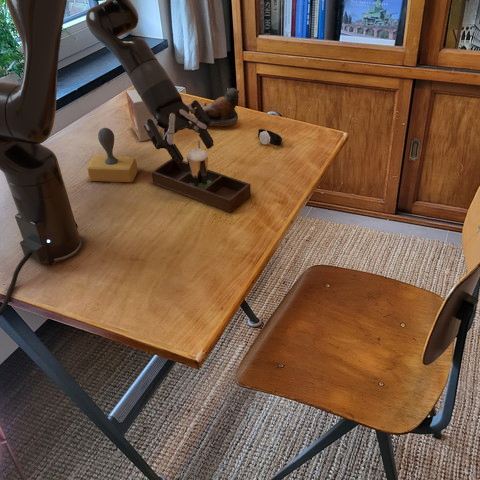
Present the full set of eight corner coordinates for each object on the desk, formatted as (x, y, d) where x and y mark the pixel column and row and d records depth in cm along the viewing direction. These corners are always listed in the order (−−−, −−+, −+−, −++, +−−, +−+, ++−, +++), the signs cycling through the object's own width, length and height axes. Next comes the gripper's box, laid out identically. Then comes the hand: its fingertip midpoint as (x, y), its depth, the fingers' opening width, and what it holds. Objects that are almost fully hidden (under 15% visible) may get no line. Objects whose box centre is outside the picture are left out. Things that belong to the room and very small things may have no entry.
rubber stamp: (138, 170, 137) (129, 123, 129) (132, 183, 133) (122, 135, 125) (97, 168, 138) (85, 121, 130) (89, 181, 134) (77, 134, 126)
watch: (253, 139, 149) (252, 126, 146) (267, 133, 151) (267, 120, 149) (272, 150, 144) (272, 137, 142) (286, 144, 147) (287, 131, 144)
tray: (230, 213, 124) (229, 200, 122) (153, 184, 133) (151, 171, 131) (250, 196, 129) (250, 184, 127) (174, 169, 138) (173, 157, 136)
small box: (132, 128, 153) (125, 90, 146) (152, 124, 155) (146, 86, 148) (140, 142, 148) (132, 102, 141) (161, 137, 149) (155, 98, 143)
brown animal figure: (193, 129, 153) (190, 92, 146) (199, 117, 158) (195, 81, 151) (239, 131, 152) (237, 94, 145) (242, 119, 157) (241, 83, 151)
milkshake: (213, 180, 132) (209, 140, 126) (208, 193, 128) (204, 153, 122) (193, 179, 133) (188, 139, 126) (188, 192, 129) (183, 151, 122)
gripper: (133, 89, 116) (177, 159, 118) (187, 69, 124) (228, 135, 126) (122, 106, 122) (164, 173, 124) (174, 86, 130) (213, 149, 132)
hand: (196, 154), depth 125 cm, fingers open, 8 cm apart
